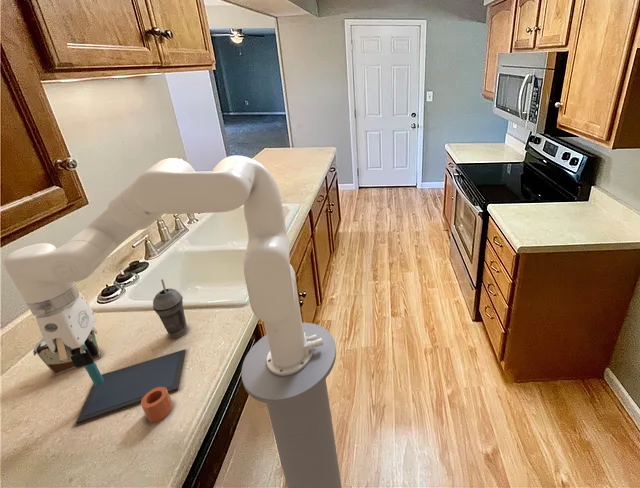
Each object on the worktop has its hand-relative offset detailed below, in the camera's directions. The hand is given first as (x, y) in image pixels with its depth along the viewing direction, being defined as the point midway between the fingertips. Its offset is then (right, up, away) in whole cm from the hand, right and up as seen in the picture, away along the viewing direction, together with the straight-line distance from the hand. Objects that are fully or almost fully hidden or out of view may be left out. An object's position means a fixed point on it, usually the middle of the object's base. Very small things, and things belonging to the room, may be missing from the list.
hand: (87, 360), depth 78 cm
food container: (-16, -7, +15) cm, 23 cm away
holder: (+17, -12, 0) cm, 21 cm away
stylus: (0, -7, +3) cm, 8 cm away
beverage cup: (+6, -4, +23) cm, 24 cm away
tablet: (+6, -10, +7) cm, 13 cm away
